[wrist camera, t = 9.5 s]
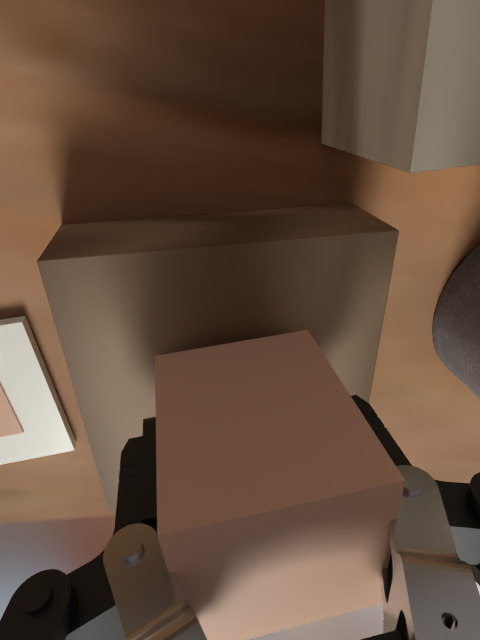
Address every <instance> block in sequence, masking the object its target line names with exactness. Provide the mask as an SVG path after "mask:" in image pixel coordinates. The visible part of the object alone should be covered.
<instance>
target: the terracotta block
mask: <svg viewBox="0 0 480 640" xmlns="http://www.w3.org/2000/svg"><path fill="white" fill-rule="evenodd" d="M155 402H156V475H157V537H158V540H159V543H160V546H161V550H162V553H163V556H164V559H165V563H166V566H167V569H168V572H169V573H171V572H175V574H176V577H177V579H178V581H179V583H180V585H181V588H182V590H183V592H184V594H185V597H186V599H187V601H188V603H189V605H191V606H192V608H193V610H194V612H195V614H196V616H197V618H198V620H199V622H200V625H201V627H202V629H203V631H204V634H205V636H206V638H207V640H247V639H250V638H254V637H258V636H262V635H266V634H270V633H274V632H277V631H281V630H285V629H289V628H292V627H296V626H300V625H304V624H308V623H312V622H315V621H319V620H323V619H327V618H330V617H334V616H338V615H342V614H345V613H349V612H353V611H357V610H361V609H365V608H369V607H372V606H376V605H380V604H381V601H382V594H381V585H380V575H381V569H384V568H388V565H389V560H390V555H391V548H390V542H389V535H388V531H389V525H390V520H394V519H398V514H399V509H400V504H401V499H402V494H403V489H404V484H405V480H404V478H403V476H402V475H401V473H400V472H399V470H398V469H397V467H396V466H395V464H394V462H393V461H392V459H391V458H390V456H389V455H388V453H387V452H386V450H385V449H384V447H383V445H382V444H381V442H380V441H379V439H378V438H377V436H376V435H375V433H374V432H373V430H372V428H371V427H370V425H369V424H368V422H367V421H366V419H365V418H364V416H363V414H362V413H361V411H360V410H359V408H358V407H357V405H356V404H355V402H354V401H353V399H352V397H351V396H350V394H349V393H348V391H347V390H346V388H345V387H344V385H343V383H342V382H341V380H340V379H339V377H338V376H337V374H336V373H335V371H334V370H333V368H332V366H331V365H330V363H329V362H328V360H327V359H326V357H325V356H324V354H323V352H322V351H321V349H320V348H319V346H318V345H317V343H316V342H315V340H314V339H313V337H312V335H311V334H310V332H309V331H308V330H303V331H298V332H292V333H286V334H280V335H274V336H268V337H263V338H257V339H251V340H245V341H239V342H233V343H228V344H222V345H216V346H210V347H204V348H198V349H193V350H187V351H181V352H175V353H169V354H163V355H158V356H155Z"/></svg>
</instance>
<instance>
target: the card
mask: <svg viewBox="0 0 480 640" xmlns="http://www.w3.org/2000/svg"><path fill="white" fill-rule="evenodd" d="M75 446H76V440H75V438H74V435H73V433H72V431H71V428H70V426H69V423H68V421H67V418H66V416H65V413H64V411H63V408H62V406H61V403H60V401H59V398H58V396H57V393H56V391H55V388H54V386H53V383H52V381H51V378H50V376H49V373H48V371H47V368H46V366H45V363H44V361H43V358H42V356H41V353H40V351H39V348H38V346H37V343H36V341H35V338H34V336H33V333H32V331H31V328H30V326H29V323H28V321H27V318H26V316H20V317H14V318H7V319H1V320H0V465H2V464H7V463H12V462H17V461H22V460H27V459H32V458H38V457H43V456H48V455H53V454H58V453H63V452H68V451H74V450H75Z"/></svg>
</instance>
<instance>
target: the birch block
mask: <svg viewBox="0 0 480 640" xmlns="http://www.w3.org/2000/svg"><path fill="white" fill-rule="evenodd" d="M321 144H324V145H327V146H330V147H333V148H336V149H339V150H342V151H345V152H348V153H351V154H354V155H357V156H360V157H363V158H366V159H370V160H373V161H376V162H379V163H382V164H385V165H388V166H391V167H394V168H397V169H400V170H403V171H406V172H409V173H414V172H422V171H430V170H438V169H446V168H455V167H463V166H471V165H479V164H480V0H325V13H324V56H323V98H322V141H321Z"/></svg>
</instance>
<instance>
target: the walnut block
mask: <svg viewBox="0 0 480 640" xmlns="http://www.w3.org/2000/svg"><path fill="white" fill-rule="evenodd" d="M398 233H399V230H397V229H395V228H394V227H392V226H390V225H388V224H387V223H385V222H383V221H382V220H380V219H378V218H376V217H375V216H373V215H371V214H369V213H368V212H366V211H364V210H362V209H361V208H359V207H357V206H356V205H354V204H352V203H349V204H336V205H322V206H309V207H295V208H281V209H268V210H254V211H241V212H227V213H214V214H200V215H187V216H173V217H160V218H146V219H132V220H119V221H105V222H92V223H78V224H65V225H61V226H60V228H59V229H58V231H57V232H56V234H55V235H54V237H53V238H52V240H51V241H50V243H49V244H48V246H47V247H46V249H45V250H44V252H43V253H42V255H41V256H40V258H39V259H38V261H37V263H38V267H39V270H40V273H41V277H42V280H43V284H44V287H45V291H46V294H47V298H48V301H49V305H50V308H51V311H52V315H53V318H54V322H55V325H56V329H57V332H58V336H59V339H60V342H61V346H62V349H63V353H64V356H65V360H66V363H67V367H68V370H69V374H70V377H71V380H72V384H73V387H74V391H75V394H76V398H77V401H78V405H79V408H80V411H81V415H82V418H83V422H84V425H85V429H86V432H87V436H88V439H89V443H90V446H91V449H92V453H93V456H94V460H95V463H96V467H97V470H98V474H99V477H100V480H101V484H102V487H103V491H104V494H105V498H106V501H107V505H108V508H109V510H110V509H115V508H116V507H117V495H118V482H119V470H120V458H121V452H122V450H123V448H124V446H125V444H126V443H127V441H128V439H129V438H134V437H140V436H143V419H145V418H151V417H156V402H155V356H158V355H163V354H169V353H175V352H181V351H187V350H193V349H198V348H204V347H210V346H216V345H222V344H228V343H233V342H239V341H245V340H251V339H257V338H263V337H268V336H274V335H280V334H286V333H292V332H298V331H303V330H308V331H309V332H310V334H311V335H312V337H313V339H314V340H315V342H316V343H317V345H318V346H319V348H320V349H321V351H322V352H323V354H324V356H325V357H326V359H327V360H328V362H329V363H330V365H331V366H332V368H333V370H334V371H335V373H336V374H337V376H338V377H339V379H340V380H341V382H342V383H343V385H344V387H345V388H346V390H347V391H348V393H349V394H350V396H352V395H357V396H359V397H360V398H362V399H363V400H365V401H366V402H367V403H369V399H370V393H371V387H372V382H373V376H374V370H375V364H376V359H377V353H378V347H379V342H380V336H381V330H382V325H383V319H384V313H385V307H386V302H387V296H388V290H389V285H390V279H391V273H392V268H393V262H394V256H395V250H396V245H397V239H398Z"/></svg>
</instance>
